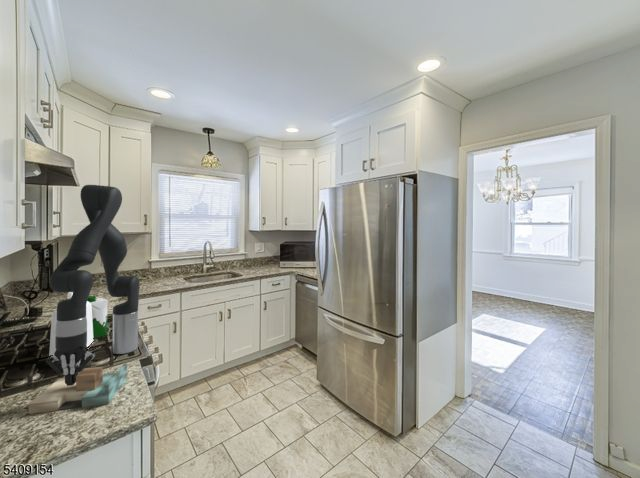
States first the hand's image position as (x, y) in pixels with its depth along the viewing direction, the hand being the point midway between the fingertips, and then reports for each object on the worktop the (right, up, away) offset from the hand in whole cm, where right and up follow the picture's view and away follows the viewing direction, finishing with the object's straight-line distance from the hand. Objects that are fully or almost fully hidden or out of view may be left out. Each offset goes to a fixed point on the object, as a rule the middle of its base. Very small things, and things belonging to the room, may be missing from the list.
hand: (71, 384), depth 88 cm
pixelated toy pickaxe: (+3, -4, +1) cm, 5 cm away
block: (+5, -1, +1) cm, 5 cm away
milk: (-29, -2, +33) cm, 44 cm away
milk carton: (-31, -1, +48) cm, 57 cm away
